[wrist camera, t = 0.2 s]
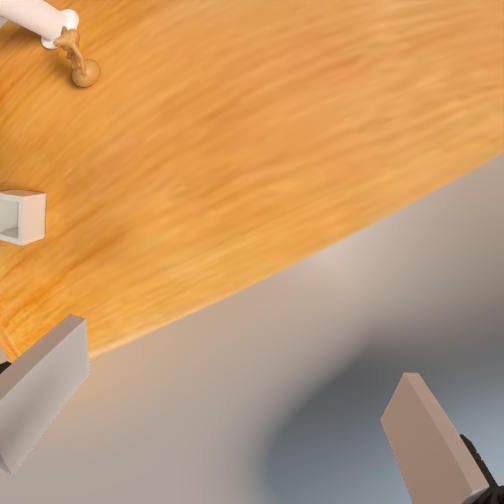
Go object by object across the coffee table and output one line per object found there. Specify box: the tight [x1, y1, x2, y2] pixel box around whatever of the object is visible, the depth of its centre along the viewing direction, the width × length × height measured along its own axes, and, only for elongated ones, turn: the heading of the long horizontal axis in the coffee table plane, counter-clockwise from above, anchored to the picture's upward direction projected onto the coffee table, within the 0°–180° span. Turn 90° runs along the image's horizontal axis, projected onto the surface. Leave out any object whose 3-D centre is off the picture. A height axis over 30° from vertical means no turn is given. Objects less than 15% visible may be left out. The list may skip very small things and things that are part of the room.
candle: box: [0, 0, 79, 49], centre depth 20 cm, size 7×7×25 cm
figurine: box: [53, 26, 101, 87], centre depth 28 cm, size 8×6×12 cm
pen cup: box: [0, 189, 47, 246], centre depth 36 cm, size 7×7×6 cm
